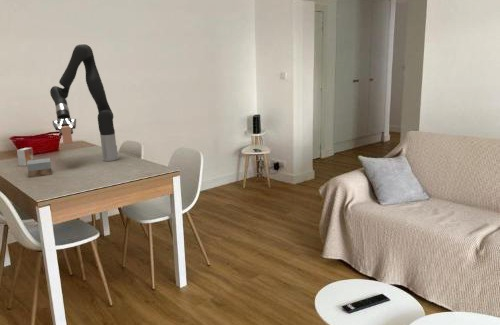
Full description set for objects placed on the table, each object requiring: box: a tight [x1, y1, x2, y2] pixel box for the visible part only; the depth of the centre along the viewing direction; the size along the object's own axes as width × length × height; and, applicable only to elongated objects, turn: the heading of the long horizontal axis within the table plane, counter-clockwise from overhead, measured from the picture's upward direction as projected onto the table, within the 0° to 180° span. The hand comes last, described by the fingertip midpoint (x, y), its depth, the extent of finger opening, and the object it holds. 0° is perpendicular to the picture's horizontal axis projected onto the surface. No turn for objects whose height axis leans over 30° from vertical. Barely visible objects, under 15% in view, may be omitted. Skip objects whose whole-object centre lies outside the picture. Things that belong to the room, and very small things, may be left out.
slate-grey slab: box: [26, 157, 52, 172], centre depth 249 cm, size 12×12×4 cm
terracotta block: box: [61, 126, 74, 145], centre depth 257 cm, size 5×5×10 cm
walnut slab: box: [27, 168, 53, 178], centre depth 250 cm, size 12×12×4 cm
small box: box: [16, 147, 35, 167], centre depth 274 cm, size 8×6×10 cm
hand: (66, 134), depth 256 cm, fingers closed on terracotta block, 5 cm apart
